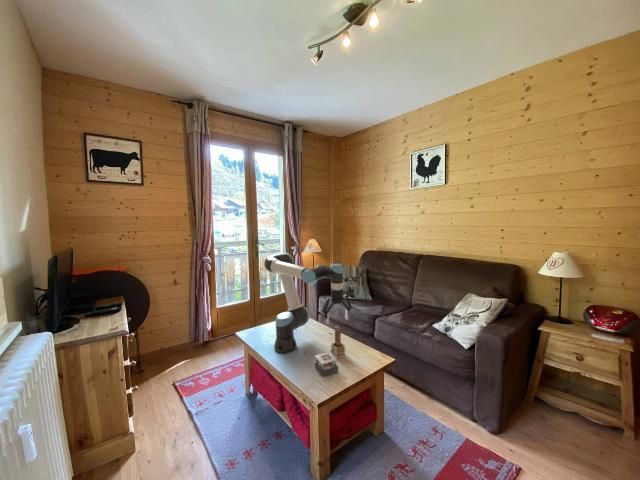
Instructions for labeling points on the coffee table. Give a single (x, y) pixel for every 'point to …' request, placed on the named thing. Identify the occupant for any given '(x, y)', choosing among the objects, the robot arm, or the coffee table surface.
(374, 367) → the coffee table surface
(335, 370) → the grey button box
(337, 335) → the brown wooden rod
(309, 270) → the robot arm
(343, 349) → the pen cup
